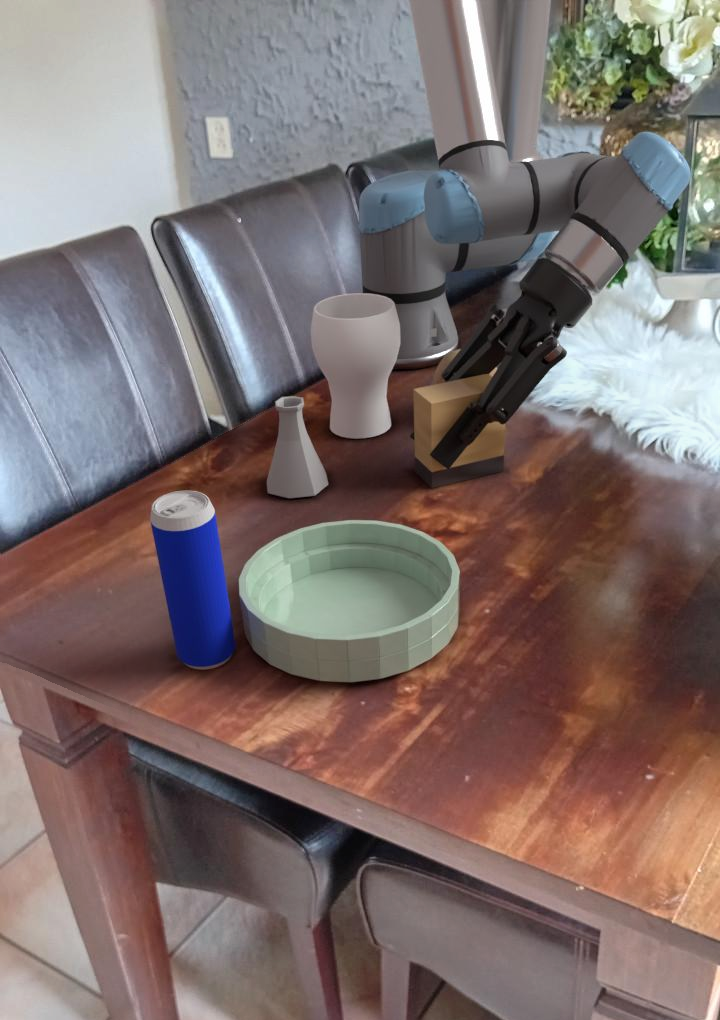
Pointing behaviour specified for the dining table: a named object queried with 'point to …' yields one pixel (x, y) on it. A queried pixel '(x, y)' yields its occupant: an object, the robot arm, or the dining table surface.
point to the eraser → (435, 419)
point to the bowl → (350, 600)
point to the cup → (357, 359)
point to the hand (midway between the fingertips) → (428, 452)
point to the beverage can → (193, 578)
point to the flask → (294, 455)
